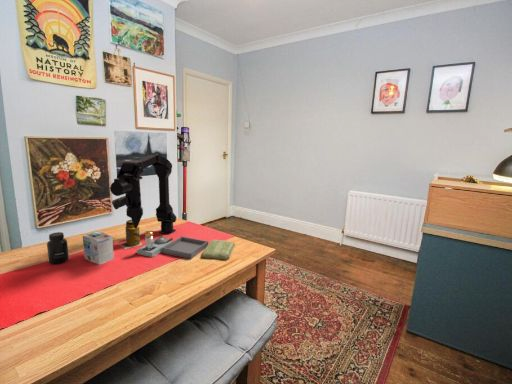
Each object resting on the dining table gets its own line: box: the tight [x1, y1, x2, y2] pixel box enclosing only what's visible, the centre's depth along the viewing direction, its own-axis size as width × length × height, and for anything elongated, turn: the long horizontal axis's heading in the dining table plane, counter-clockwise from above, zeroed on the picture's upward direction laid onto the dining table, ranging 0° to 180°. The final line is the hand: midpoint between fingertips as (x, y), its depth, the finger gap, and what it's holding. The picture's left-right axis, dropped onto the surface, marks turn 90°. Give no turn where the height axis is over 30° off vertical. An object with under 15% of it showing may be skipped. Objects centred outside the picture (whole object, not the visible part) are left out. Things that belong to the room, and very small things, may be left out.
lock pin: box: [144, 230, 154, 251], centre depth 122 cm, size 3×3×10 cm
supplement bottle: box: [46, 231, 70, 265], centre depth 110 cm, size 7×7×12 cm
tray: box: [161, 235, 209, 260], centre depth 127 cm, size 15×15×2 cm
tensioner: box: [136, 235, 174, 258], centre depth 127 cm, size 16×9×3 cm, turn 161°
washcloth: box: [201, 239, 236, 261], centre depth 127 cm, size 13×18×3 cm
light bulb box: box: [82, 230, 115, 266], centre depth 114 cm, size 11×7×11 cm, turn 62°
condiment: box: [119, 219, 144, 250], centre depth 129 cm, size 7×8×12 cm
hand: (135, 224), depth 119 cm, fingers open, 9 cm apart
